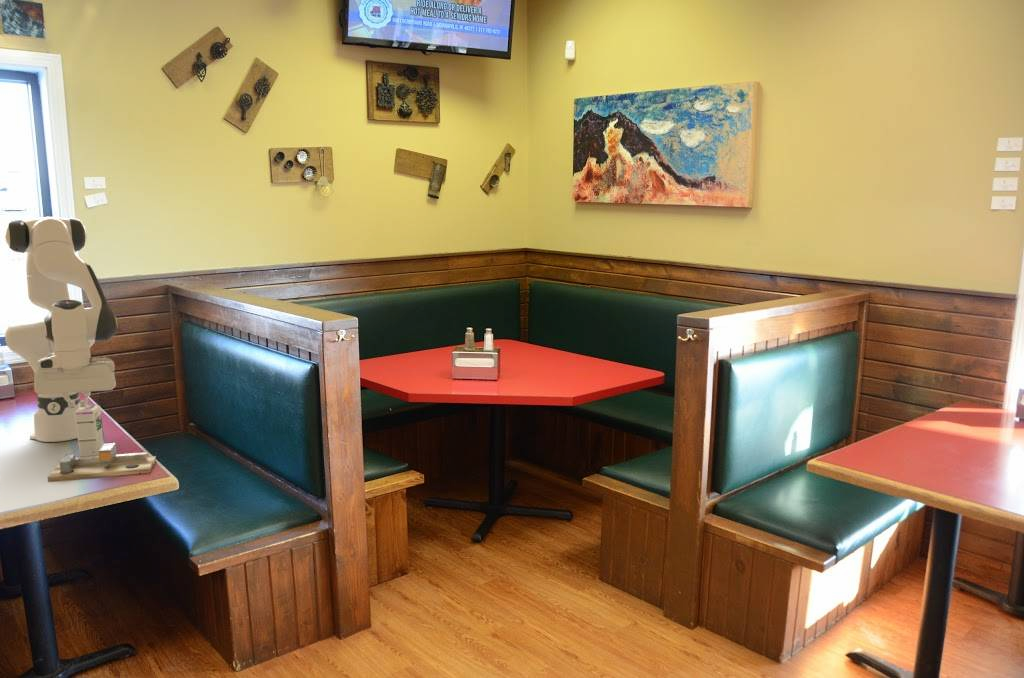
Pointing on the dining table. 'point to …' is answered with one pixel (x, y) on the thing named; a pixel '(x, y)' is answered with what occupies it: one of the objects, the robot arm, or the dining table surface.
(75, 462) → the trammel bar
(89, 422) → the syrup box
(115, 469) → the hole board
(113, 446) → the block
